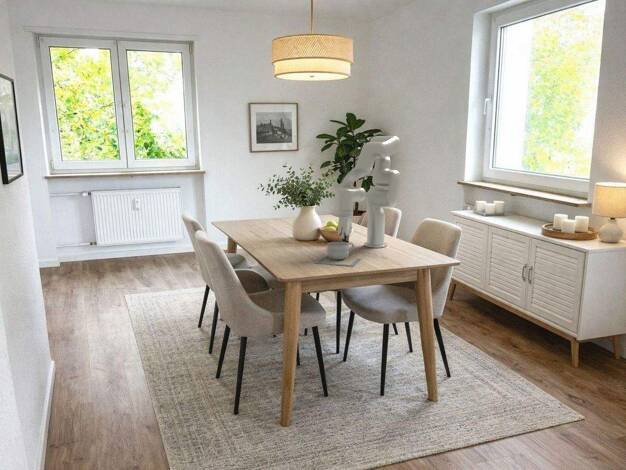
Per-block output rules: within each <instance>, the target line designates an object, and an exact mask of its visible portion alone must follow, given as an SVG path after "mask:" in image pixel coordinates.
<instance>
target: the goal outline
mask: <svg viewBox="0 0 626 470" xmlns="http://www.w3.org/2000/svg"><path fill="white" fill-rule="evenodd" d="M327 257H328V255H323V256H321V257H319V258H318V259H317V260H315V261H314V262H313V264H318V265H327V266H328V265H329V266H341V267H352V268H353V267H355V266H356V265H358V263H359V262H360V261H361V260H362V258H360V257H357V259H355V260H354V261H353V262H352V263H351V264H345V263H344V264H343V263H335V262H334V263H331V262H322V261H323V260H324V259H325V258H327Z"/></svg>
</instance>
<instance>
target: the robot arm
mask: <svg viewBox="0 0 626 470" xmlns="http://www.w3.org/2000/svg"><path fill="white" fill-rule="evenodd" d="M400 148H401V139H400V138H399V137H398V136H395V135H374V136H372V137H371V138H370V140H369V141H368V142H366V143H364V144H363V145H362V147H361V150H360V153H359V156H358V159H357V163H356V164H355V166H354V168H352V169H351V170H350V171H349V172H348V173H347V174H346V175H345V176H344V177H343V179H342V181H341V184H340V187H339V189H338V205H337V206H338V211H337V213H338V223H337V224H338V225H337V227H338V228H337V229H338V230H337V235H338V236H341V242H348V243H350V242H349V240H350V234H352V230H353V228H352V227H353V225H352V224H353V222H352V218H353V217H354V203H361V202H363V201H364V200H365V199H366V200H365V201H366V206H367V223H366V224H367V228H366V229H367V230H366V233H367V235H366V241H365V242H364V243H363V246H364V247H366V248H373V249H374V248H376V249H380V248H386V247H387V246H388V244H387V242H385V228H386V214H385V210H384V209H383V208H395V207H396V206H397V204H398V201H399V196H400V192H401V191H400V190H401V185H402V177H401V176H402V175H401V173H400V171H398V170H396V169H391V165H392V164H391V163H392V160H391V158H390V157H391V156H392V155H394V154H395V153H398V151H399V150H400ZM373 166H374V167H373ZM373 168H374V169H373ZM372 171H373V173H372ZM371 173H372V179H371V181H372V184H373V186H375V187H380V188H371V189H369V190H368V191H366V190H365V189H364V188H363V187H359V186H353V183H355V182H356V181H358V179H362V178H363V177H365V176H368V175H370V174H371ZM382 188H383V189H382ZM384 188H388V189H384Z"/></svg>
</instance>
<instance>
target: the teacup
mask: <svg viewBox="0 0 626 470" xmlns="http://www.w3.org/2000/svg"><path fill="white" fill-rule="evenodd" d="M326 244H327V256H328V257H329V258H331V259H332V260H344V259H346V258H347V257H348V256H349V254H350V252H352V251H353V250H354V249H355V244H354V243H353V242H351V241H350V242H349V243H348V242H342V241H332V242H331V241H329V242H327V243H326ZM350 245H351V247H350Z"/></svg>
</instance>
